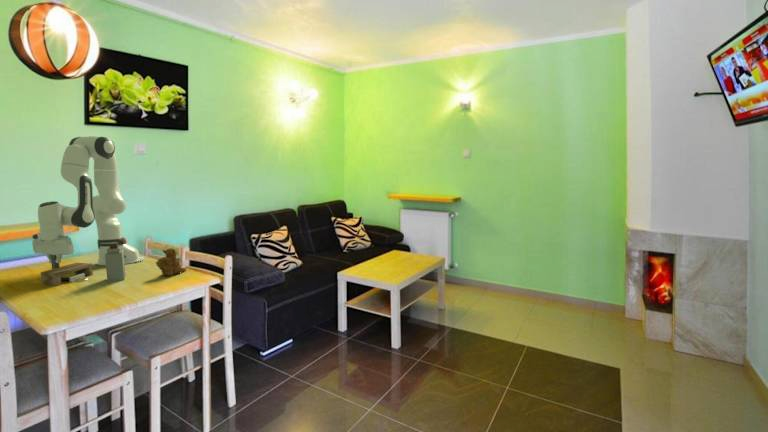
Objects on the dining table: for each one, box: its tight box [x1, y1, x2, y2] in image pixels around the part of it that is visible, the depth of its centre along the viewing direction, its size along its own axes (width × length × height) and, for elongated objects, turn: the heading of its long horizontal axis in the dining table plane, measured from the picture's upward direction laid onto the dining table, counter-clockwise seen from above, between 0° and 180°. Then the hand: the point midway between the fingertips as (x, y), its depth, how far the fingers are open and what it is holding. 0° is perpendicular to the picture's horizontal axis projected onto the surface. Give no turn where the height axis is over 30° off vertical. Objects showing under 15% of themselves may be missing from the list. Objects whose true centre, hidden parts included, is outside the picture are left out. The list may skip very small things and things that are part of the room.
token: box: [76, 277, 89, 283], centre depth 191 cm, size 4×4×1 cm
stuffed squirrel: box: [155, 247, 187, 277], centre depth 201 cm, size 10×14×13 cm
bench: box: [40, 262, 94, 286], centre depth 192 cm, size 9×18×6 cm, turn 170°
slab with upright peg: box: [51, 254, 86, 283], centre depth 191 cm, size 14×7×12 cm, turn 80°
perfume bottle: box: [105, 243, 127, 283], centre depth 192 cm, size 7×7×18 cm
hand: (55, 262), depth 192 cm, fingers closed on slab with upright peg
